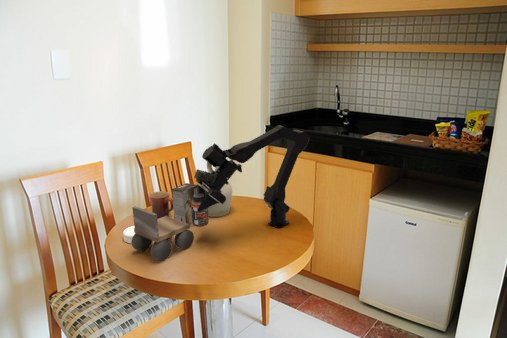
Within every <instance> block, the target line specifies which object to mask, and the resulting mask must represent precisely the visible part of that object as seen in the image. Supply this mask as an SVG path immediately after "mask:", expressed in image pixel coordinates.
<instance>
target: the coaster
mask: <svg viewBox="0 0 507 338" xmlns="http://www.w3.org/2000/svg"><path fill="white" fill-rule="evenodd" d="M134 228H135V226H134V225H132V226H129V227H126V228H125V229H124V230H123V232H122V235H123V241H124V242H125V243H126V244H127V243H128V244H132V243H131V242H132V238H133V236H134V234H135V233H134Z"/></svg>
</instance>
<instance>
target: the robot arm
mask: <svg viewBox="0 0 507 338" xmlns="http://www.w3.org/2000/svg"><path fill="white" fill-rule="evenodd" d="M282 138H285V139H286V151H285V155H284V158H283V160H282V163H281V165H280V168H279V169H278V172H277V175H276V177H275V180H274V183H273V184H272V185H271V186H268V185H267V186H266V188H265V191H264V193H263V201H264V203H265V204H266V205H267V206H268V208H269V209H271V210H270V216H269V217H270V219H269V220H270V221H269V222H267V224H268V225H269V226H272V227H275V228H278V229H282V228H283V227H285V226H287V225H288V224H290V221H288V220H287V213H289V211H290V206H289V205H288V204H287V203H286V202H285V201H286V187H287V185H288V183H289V179H290V177H291V174H292V172H293V170H294V167H295V165H296V162H297V160H298V157H299V155H300V154H301V153H302V152H303V151H304V150H305V149H306V147H307V145H308V144H309V141H310V136H309V134H308V133H307V132H305V131H302V130H298V129H293V130H292V129H290V128H287V127H285V126H282V125H276V126H275V127H274V128H272V129H270V130H268V131H266V132H264V133H263V134H261V135H258V136H257V137H255V138H253V139H252V140H249V141H246V142H241V143H237V144H234V145H232V146H231V148H228V149H224V150H222V148H220V146H219V145H218V144H216V143H213V144H212V145H210V146H209V147H207V148H206V149H205V150H204V151H203V152H202V153H203V154H202V156H201V157H202V159H204V160H205V161H206V163H207V162H208V163H210V164H211V165H212V168H213V167H214V168H215V167H217V166H218V167H219V168H218V169H217V170H216V171H215V170H214V171H212V172H211V173H209V172H208V171H206V170H201V169H196V170H195V174H194V176H193V177H194V179H195V182H197V184H196V185H197V186H198V192H197V194H204V196H205V198H204V200H203V201H202V203H201V204H200V206H199V208H198V211H199V212H200V211H202V210H204V209H206V208H208V207H210V206H212V205H215V204H217V203H218V204H219V202H220V203H221V204H224V202H225V201H226V196H224V195H223V194H222V193H221V192H222V191H221V189H222V187H223V186H224V185H225V184H227V185H228V183H230V181H229V179H231V178H232V176H233V175H234V174H235V173H236V171H238V172H239V173H242V172H243V170H242V166H243V165H241V164H244V163H246V162H248V161H249V160H251V158H253V156H254V155H255V154H256V153H257V152H259V151H260V150H262V149H264V148H265V147H268V146H270V145H271V144H273V143H275V142H276V141H278V140H280V139H282ZM227 158H228V159H227ZM236 162H237V163H236ZM227 181H229V182H227ZM198 184H199V185H198ZM218 201H219V202H218Z"/></svg>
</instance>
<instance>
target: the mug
mask: <svg viewBox="0 0 507 338" xmlns="http://www.w3.org/2000/svg"><path fill="white" fill-rule="evenodd" d="M148 198H149V201H150V204H151V206H150V207H151V212H152V213H155V214H157V219H159V218H162V217H164V216H168V217H170V213H171V212H172V211H174V209H173V198H171V197H170V192H168V191H164V190H163V191H154V192H152V193H150V194H148ZM169 203H170V204H169Z"/></svg>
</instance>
